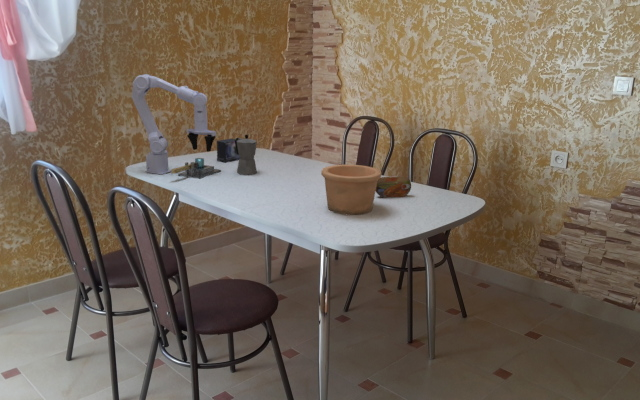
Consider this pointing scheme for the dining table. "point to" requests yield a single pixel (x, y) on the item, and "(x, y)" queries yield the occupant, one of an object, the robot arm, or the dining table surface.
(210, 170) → the dock
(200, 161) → the teal glass cylinder
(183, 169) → the pin
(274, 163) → the dining table surface
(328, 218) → the dining table surface
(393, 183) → the tin
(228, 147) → the small box
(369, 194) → the pottery
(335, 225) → the dining table surface
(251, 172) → the coffeepot
